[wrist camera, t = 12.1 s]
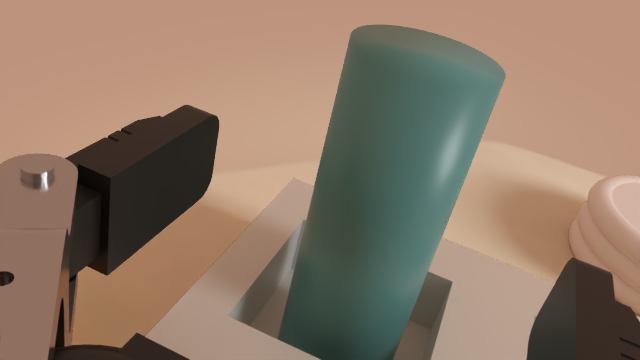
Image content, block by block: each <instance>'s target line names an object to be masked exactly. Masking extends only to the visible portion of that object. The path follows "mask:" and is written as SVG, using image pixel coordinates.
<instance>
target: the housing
mask: <svg viewBox="0 0 640 360" xmlns="http://www.w3.org/2000/svg"><path fill="white" fill-rule="evenodd" d="M313 189H314V186H312V185H310V184H307V183H305V182H302V181H300V180H297V179H295V178H293V179H292V180H291V182H290V183H289V184H288V185H287V186H286V187H285V188H284V189H283V190H282V191H281V192H280V193H279V194H278V195H277V196H276V197H275V199H274V200H273V201H272V202H271V203H270V204H269V205H268V206H267V207H266V208H265V209H264V210H263V211H262V212H261V213H260V215H259V216H258V217H257V218H256V219H255V220H254V221H253V222H252V223H251V224H250V225H249V226H248V227H247V228H246V229H245V230H244V232H243V233H242V234H241V235H240V236H239V237H238V238H237V239H236V240H235V241H234V242H233V243H232V244H231V245H230V246H229V248H228V249H227V250H226V251H225V252H224V253H223V254H222V255H221V256H220V257H219V258H218V259H217V260H216V261H215V262H214V263H213V265H212V266H211V267H210V268H209V269H208V270H207V271H206V272H205V273H204V274H203V275H202V276H201V277H200V278H199V279H198V281H197V282H196V283H195V284H194V285H193V286H192V287H191V288H190V289H189V290H188V291H187V292H186V293H185V294H184V295H183V296H182V298H181V299H180V300H179V301H178V302H177V303H176V304H175V305H174V306H173V307H172V308H171V309H170V310H169V311H168V312H167V314H166V315H165V316H164V317H163V318H162V319H161V320H160V321H159V322H158V323H157V324H156V325H155V326H154V327H153V328H152V329H151V331H150V332H149V333H148V334H147V335H146V336H145V337H146V338H148V339H150V340H152V341H154V342H156V343H158V344H160V345H162V346H164V347H166V348H168V349H170V350H172V351H174V352H176V353H178V354H180V355H182V356H184V357H186V358H188V359H190V360H321V359H318V358H316V357H314V356H312V355H310V354H308V353H306V352H304V351H301V350H299V349H297V348H295V347H293V346H291V345H289V344H286V343H284V342H282V341H280V340H278V335H279V331H280V327H281V323H282V318H283V314H284V310H285V306H286V302H287V298H288V293H289V289H290V285H291V281H292V277H293V273H294V269H295V264H296V260H297V256H298V252H299V248H300V244H301V239H302V235H303V231H304V227H305V223H306V219H307V214H308V210H309V206H310V202H311V198H312V194H313ZM554 285H555V283H554V282H551V281H549V280H546V279H544V278H541V277H539V276H536V275H534V274H531V273H529V272H526V271H524V270H521V269H519V268H516V267H514V266H511V265H509V264H506V263H504V262H501V261H499V260H496V259H494V258H491V257H489V256H486V255H484V254H482V253H479V252H477V251H474V250H472V249H469V248H467V247H464V246H462V245H459V244H457V243H454V242H452V241H449V240H447V239H444V238H441V240H440V243H439V245H438V248H437V250H436V253H435V255H434V258H433V260H432V263H431V265H430V268H429V270H428V273H427V275H426V278H425V280H424V283H423V286H422V288H421V291H420V293H419V296H418V298H417V301H416V303H415V306H414V308H413V311H412V313H411V316H410V318H409V321H408V323H407V326H406V328H405V331H404V333H403V336H402V338H401V341H400V343H399V346H398V348H397V351H396V353H395V356H394V358H393V360H527V349H528V340H529V336H530V332H531V329H532V326H533V324H534V321H535V319H536V317H537V315H538V313H539V311H540V309H541V307H542V306H543V304H544V302H545V300H546V299H547V297H548V295H549V293H550V292H551V290H552V288H553V286H554ZM636 317H637V318H638V320H639V321H640V317H638V316H636Z"/></svg>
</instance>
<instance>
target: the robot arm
mask: <svg viewBox="0 0 640 360" xmlns="http://www.w3.org/2000/svg"><path fill="white" fill-rule="evenodd" d="M218 132H219V120H218V117H217V116H215V115H213V114H210V113H208V112H205V111H202V110H200V109H197V108H194V107H192V106H189V105H184V106H182V107H180V108H178V109H176V110H175V111H173V112H171V113H169V114H167V115H166V116H164V117H161V116H157V117H152V118H147V119H142V120H137V121H135V122H133V123H132V124H130V125H128V126H126V127H124V128H122V129H121V131H116V132H114V133H112V134H111V135H109V136H108V138H103V139H101V140H99V141H97V142H95V143H93V144H91V145H90V146H88V147H86V148H84V149H82V150H80V151H78V152H76V153H74V154H73V155H71V156H69V157H67V158H65V159H64V158H62V157H59V156H55V155H49V154H27V155H21V156H17V157H13V158H11V159H8V160H6V161H4V162H3V163H2V164H0V360H190V359H188V358H186V357H184V356H182V355H180V354H178V353H176V352H174V351H172V350H170V349H168V348H166V347H164V346H162V345H160V344H158V343H156V342H154V341H152V340H150V339H148V338H146V337H144V336H142V335H140V334H138V333H136V334H135V335H134V336H133V337H132V338H131V339H130V340H129V341H128V342H127V343H126V344H125V345H124V346H123V347H122V348H118V347H112V346H104V345H71V342H72V333H73V323H74V314H75V305H76V295H77V286H78V272H79V271H81V270H82V269H83V268H84V267H86V266H88V267H90V268H92V269H94V270H96V271H98V272H100V273H102V274H104V275H109V274H110V273H111V272H112V271H114V270H115V269H116V268H117V267H118V266H120V265H121V264H122V263H123V262H124V261H126V260H127V259H128V258H129V257H131V256H132V255H133V254H134V253H135V252H137V251H138V250H139V249H140V248H141V247H143V246H144V245H145V244H146V243H147V242H149V241H150V240H151V239H152V238H154V237H155V236H156V235H157V234H158V233H160V232H161V231H162V230H163V229H164V228H166V227H167V226H168V225H169V224H170V223H172V222H173V221H174V220H175V219H177V218H178V217H179V216H180V215H181V214H183V213H184V212H185V211H186V210H187V209H189V208H190V207H191V206H192V205H194V204H195V203H196V202H197V201H198V200H199V199H201V197H202V196H203V195H204V194H205V192H206V190H207V188H208V186H209V184H210V181H211V178H212V173H213V166H214V159H215V152H216V145H217V138H218ZM527 360H640V321H639V320H638V318H637V317H636V315H635V313H634V312H633V310H632V309H631V307H629V306H627V305H624V304H622V303H619V302H617V301H615V294H614V284H613V276H612V273H611V272H609V271H606V270H604V269H601V268H599V267H596V266H594V265H591V264H589V263H586V262H584V261H581V260H578V259H576V258H571V259H570V260H569V261H568V263H567V264H566V266H565V267H564V269H563V271H562V272H561V274H560V276H559V278H558V279H557V281H556V283H555V285H554V286H553V288H552V290H551V292H550V293H549V295H548V297H547V299H546V300H545V302H544V304H543V306H542V307H541V309H540V311H539V313H538V315H537V317H536V319H535V321H534V324H533V326H532V329H531V332H530V336H529V340H528V349H527Z"/></svg>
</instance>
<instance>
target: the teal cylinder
mask: <svg viewBox="0 0 640 360" xmlns="http://www.w3.org/2000/svg"><path fill="white" fill-rule="evenodd" d="M504 80H505V72H504V70H503V68H502V67H501V66H500V65H499V64H498V63H497V62H496V61H494V60H493V59H492V58H490V57H489V56H487V55H485V54H484V53H482V52H480V51H478V50H476V49H474V48H472V47H470V46H468V45H466V44H463V43H461V42H458V41H456V40H453V39H450V38H447V37H444V36H441V35H438V34H434V33H430V32H427V31H423V30H418V29H413V28H408V27H401V26H393V25H367V26H361V27H358V28H356V29H354V30H353V31H352V33H351V36H350V40H349V44H348V48H347V52H346V56H345V61H344V65H343V69H342V73H341V77H340V81H339V86H338V90H337V94H336V98H335V102H334V107H333V111H332V115H331V119H330V123H329V127H328V132H327V135H326V140H325V144H324V148H323V152H322V156H321V160H320V165H319V169H318V173H317V177H316V181H315V185H314V189H313V194H312V198H311V202H310V206H309V210H308V214H307V219H306V223H305V227H304V231H303V235H302V239H301V244H300V248H299V252H298V256H297V260H296V264H295V269H294V273H293V277H292V281H291V285H290V289H289V293H288V298H287V302H286V306H285V310H284V314H283V318H282V323H281V327H280V331H279V335H278V340H280V341H282V342H284V343H286V344H289V345H291V346H293V347H295V348H297V349H299V350H301V351H304V352H306V353H308V354H310V355H312V356H314V357H316V358H318V359H321V360H393V358H394V356H395V353H396V351H397V348H398V346H399V343H400V341H401V338H402V336H403V333H404V331H405V328H406V326H407V323H408V321H409V318H410V316H411V313H412V311H413V308H414V306H415V303H416V301H417V298H418V296H419V293H420V291H421V288H422V286H423V283H424V280H425V278H426V275H427V273H428V270H429V268H430V265H431V263H432V260H433V258H434V255H435V253H436V250H437V248H438V245H439V243H440V240H441V238H442V235H443V233H444V230H445V228H446V225H447V223H448V220H449V218H450V215H451V213H452V210H453V208H454V205H455V203H456V200H457V198H458V195H459V193H460V190H461V188H462V185H463V183H464V180H465V178H466V175H467V173H468V170H469V168H470V165H471V163H472V160H473V158H474V155H475V153H476V150H477V148H478V145H479V143H480V140H481V137H482V135H483V132H484V130H485V127H486V125H487V122H488V120H489V117H490V115H491V112H492V110H493V107H494V105H495V102H496V100H497V97H498V95H499V92H500V90H501V87H502V85H503V82H504Z"/></svg>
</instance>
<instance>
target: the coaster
mask: <svg viewBox="0 0 640 360" xmlns="http://www.w3.org/2000/svg"><path fill="white" fill-rule="evenodd" d="M569 243H570V247H571V250H572V252H573V254H574V256H575V258H576V259H578V260H581V261H584V262H586V263H589V264H591V265H594V266H596V267H599V268H601V269H604V270H606V271H609V272H611V273H612V276H613V284H614V294H615V299H616V300H617V301H618V302H620V303H622V304H624V305H627V306H629V307H631V309H632V310H633V312H635V313H636V314H638V315H640V176H632V175H619V176H614V177H608V178H604V179H602V180H600V181H598V182H597V183H596V184H595V185H594V186H593V187H592V188H591V189H590V191H589V194H588V199H587V200H586V201H585V202H584V203H583V204H582V206H581V207H580V209H579V213H578V217H577V218H576V219H574V220H573V222H572V223H571V226H570V230H569Z"/></svg>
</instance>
